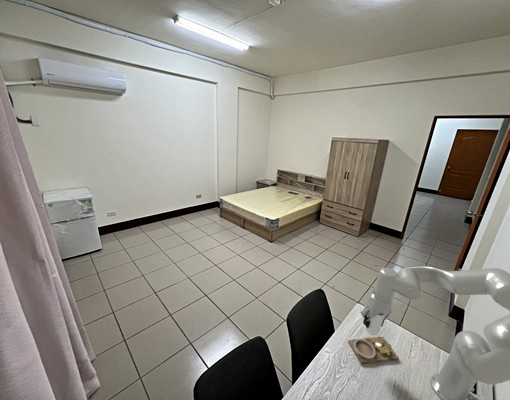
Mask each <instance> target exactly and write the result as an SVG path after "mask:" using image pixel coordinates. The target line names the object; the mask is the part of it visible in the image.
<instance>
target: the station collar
mask: <svg viewBox="0 0 510 400" xmlns="http://www.w3.org/2000/svg"><path fill="white" fill-rule="evenodd" d="M357 342H363V343H366V344H367V345H368V346H370V348H371V349H372V351H373V355H372V356H365V355H363V354H362V353H360V352H359V351H358V349H357V347H356V343H357ZM353 344H354V349H355V351H356V353H357V354H358V355H359V356H361V357H362V358H364V359H367V360H371V359H373V358H374V357H375V355H376V353H375V349H374V347H373V346H372V345H371V344H370V343H369V342H368V341H366V340H364V338H356V340H355V341H354V343H353Z"/></svg>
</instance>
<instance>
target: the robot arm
mask: <svg viewBox="0 0 510 400" xmlns="http://www.w3.org/2000/svg"><path fill="white" fill-rule="evenodd" d="M421 283H430V284H435V285H438V286H441V287H442V288H444V289H446V290H448V291H450V292H451V293H452V294H454V295H457V296H478V295H481V296H482V295H488V296H490V297H491V298H492V299H493V301H494V302H495V303H496V304H497V305H499V306H501V307H502V308H504V309H506V310H508V311H510V273H509V272H507V271H506V270H504V269H501V268H493V267H492V268H491V267H490V268H478V269H466V270H465V269H464V270H444V269H441V268H436V267H430V266H423V265H422V266H411V267H404V268H402V269H400V270H399V271H398V272H397V271H396V270H395V269H392V268H391V267H382V268H380V270H379V272H378V275H377V278H376V281H375V284H374V287H373V290H372V292H371V293H370V294H369V296H367V299H366V302H365V304H364V306H363V310H362V311H360V312H359V313H360V315H361V316H362V317H363V321H362V323H363V326H364V325H365V326H366V328H369V325H370V320H371V318H372V317H373V318H374V317H375V316H377V315H383V314H384V320H383V322H382V325H381V328H382V327H383V325H384V324H385V321H387V318H388V317H390V315H392V314H393V310H392V308H393V307H392V306H393V299H394V295H395V293H397V294H399V295H400V296H403V297H404V298H407V299H410V300H413V301H415V300H419V299H420V298H422V297H423V296H422V295H423V289H422V286H421ZM367 315H369V317H367ZM483 334H484V336H485V338H484V337H483V336H482V335H480V334H479V333H477V332H475V331H472V330H462V331H460V332H458V333H456V335H455V337H454V340H453V344H452V348H451V350H450V352H449V355H448V356H447V358H446V360H445V362H444V364H443V366H442V367H441V369H440V372H439V373H435V374H433V375H431V377H430V385H431V388H432V389H433V391H434V392H435V394H436V395H437V396H438V397H439V398H440V399H441V400H469V398H468V395H469V394H470V392H475V388H474V386H475V384H476V383H477V382H480V383H483V384H486V385H498V384H501V383H505V382H508V381H510V313H508V314H507V315H505V316H502V317H500V318H498V319H496V320H493V321H492V322H490V323H488V324H486V325H484V327H483Z"/></svg>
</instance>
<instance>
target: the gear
mask: <svg viewBox="0 0 510 400" xmlns="http://www.w3.org/2000/svg"><path fill="white" fill-rule="evenodd" d="M378 337H379V336H377V337H376V338H375V340H374V339H373V341H372V343H373V344H374V349H375V350H378V351H379V352H380V353H379V354H381V355H382V354H384V355H386V356H387V357H389V356H390V353H391V354H392V353H393V350H394V349H393V348H392V345H391V343H389V342H388V341H387V340H386V339H383V338H382V339H379V338H378ZM385 340H386V341H387V342H388V343H387V342H386V341H385ZM391 348H392V349H393V350H392V349H391Z"/></svg>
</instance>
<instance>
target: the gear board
mask: <svg viewBox="0 0 510 400" xmlns="http://www.w3.org/2000/svg"><path fill="white" fill-rule="evenodd" d="M377 337H378V338H379V339H382V338H383V339H385V337H384V336H377ZM375 338H376V337H375V336H374V337H366V338H363V339H364V340H366V341H368V342H369V343H370V344H371V345H372V346H373V347H374V344H373V343H372V341H373V339H374V340H375ZM356 339H357V338H356ZM356 339H355V338H354V339H348V345H349V347H350V348H351V350H352V352H353V353H354V355H355V357H356V359H357V360H358V362H359V364H360V365H367V364H369V365H370V364H376V363H383V362H384V363H385V362H391V361H399V359H400V357H399V356H398V355H397V353H396V352H395V351H394V349H393V347H391V349H392V350H393V353H392V354H391V353H390V356H389V357H387V356H386V355H384V354H382V355H381V354H379V353H380V352H379V351H378V350H375V353H376V355H375V357H374V358H373V359H371V360H367V359H364V358H362V357H361V356H359V355H358V354H357V353H356V351H355V349H354V344H353V343H354V341H355V340H356ZM385 341H386V342H387V343H388V344H389V342H388V341H387V340H386V339H385ZM356 347H357V349H358V351H359V352H360V353H362V354H363V355H365V356H372V355H373V351H372V349H371V348H370V346H368V345H367V344H366V343H363V342H357V343H356Z"/></svg>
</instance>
